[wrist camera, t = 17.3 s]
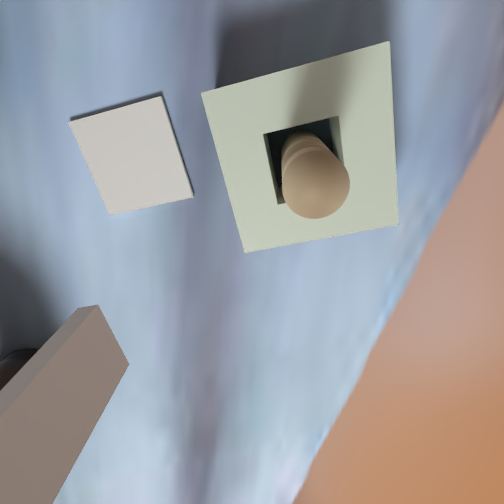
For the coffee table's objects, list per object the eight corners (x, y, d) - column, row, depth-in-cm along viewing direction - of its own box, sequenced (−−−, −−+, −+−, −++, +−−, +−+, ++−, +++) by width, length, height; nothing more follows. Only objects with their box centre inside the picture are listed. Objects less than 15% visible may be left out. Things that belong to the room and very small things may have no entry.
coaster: (111, 214, 36) (109, 215, 36) (70, 121, 32) (68, 122, 32) (194, 196, 35) (193, 197, 34) (162, 96, 31) (160, 96, 30)
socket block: (249, 229, 36) (244, 252, 30) (214, 93, 30) (200, 93, 25) (379, 204, 33) (398, 224, 28) (368, 51, 28) (389, 40, 22)
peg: (285, 175, 33) (288, 224, 20) (277, 135, 31) (276, 161, 19) (324, 167, 32) (353, 212, 20) (318, 125, 31) (346, 145, 18)
